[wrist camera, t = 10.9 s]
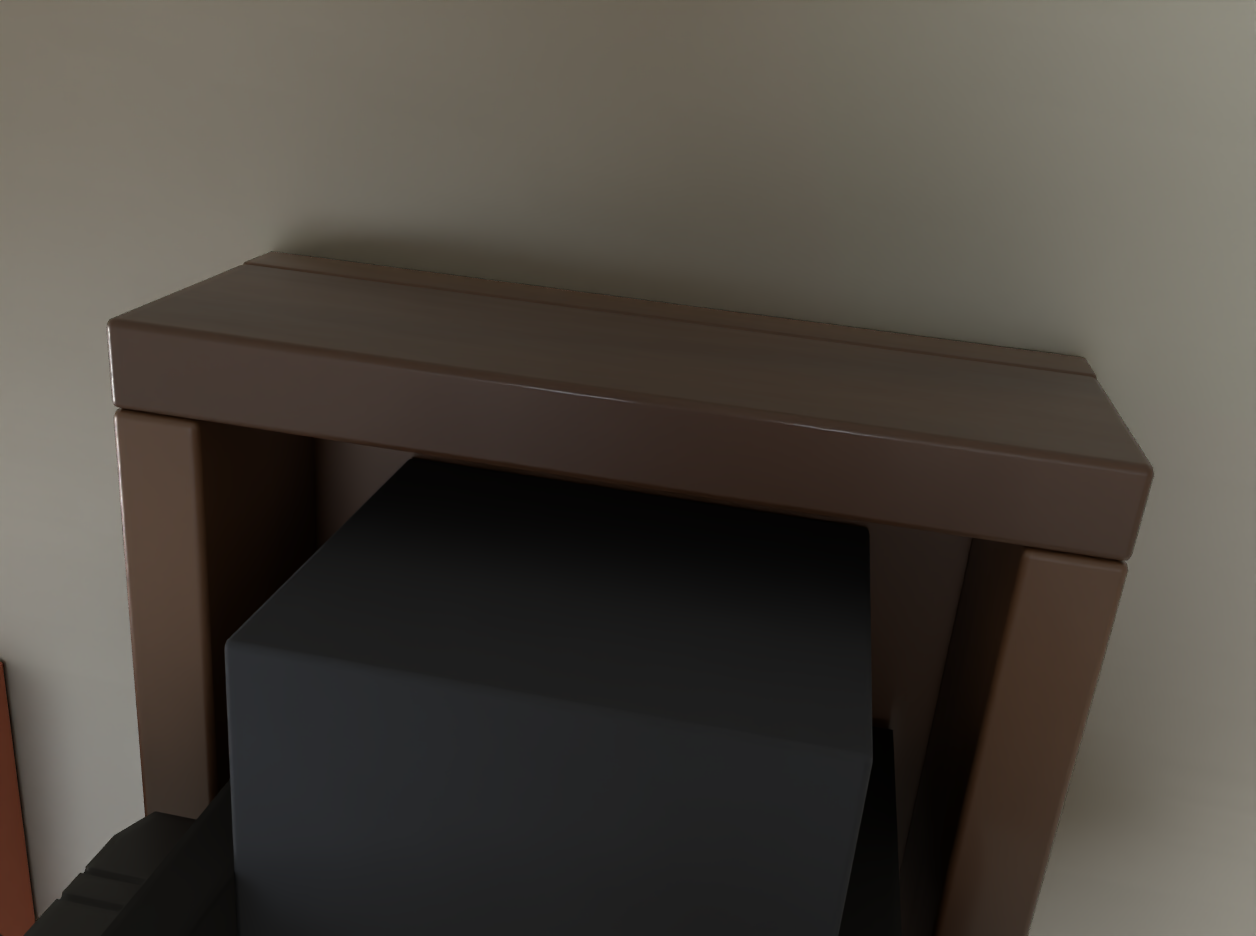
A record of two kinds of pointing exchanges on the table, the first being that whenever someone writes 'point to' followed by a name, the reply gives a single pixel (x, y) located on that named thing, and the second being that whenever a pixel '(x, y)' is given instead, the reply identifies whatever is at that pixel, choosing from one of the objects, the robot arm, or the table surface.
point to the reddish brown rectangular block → (12, 837)
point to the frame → (656, 465)
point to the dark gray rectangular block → (553, 718)
